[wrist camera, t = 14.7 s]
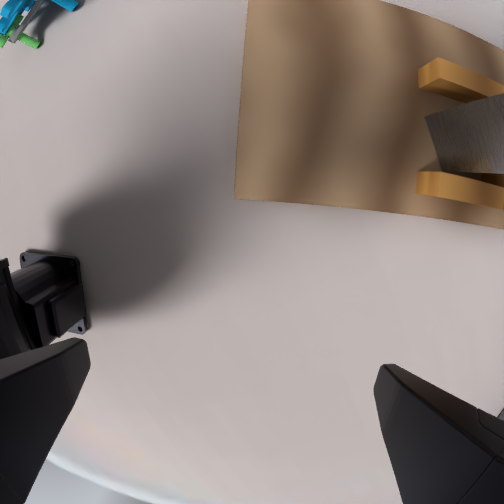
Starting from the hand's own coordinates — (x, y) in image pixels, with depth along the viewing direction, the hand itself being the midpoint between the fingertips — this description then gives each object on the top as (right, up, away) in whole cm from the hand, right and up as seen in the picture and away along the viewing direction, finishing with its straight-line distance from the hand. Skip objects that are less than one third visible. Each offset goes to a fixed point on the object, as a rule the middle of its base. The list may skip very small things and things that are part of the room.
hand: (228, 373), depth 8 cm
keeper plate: (+11, +14, +10) cm, 20 cm away
